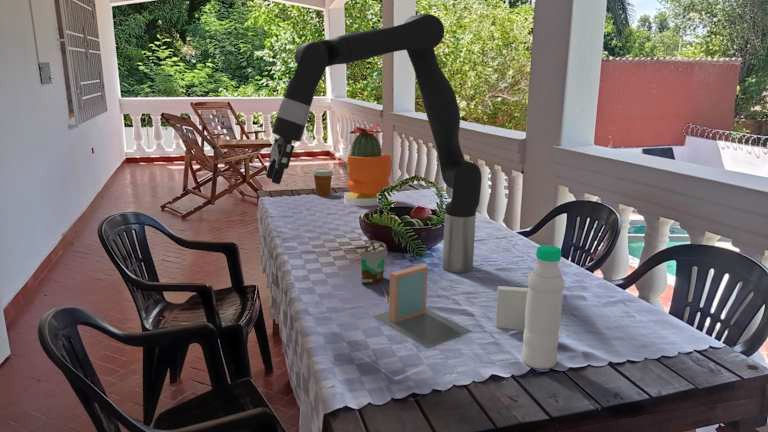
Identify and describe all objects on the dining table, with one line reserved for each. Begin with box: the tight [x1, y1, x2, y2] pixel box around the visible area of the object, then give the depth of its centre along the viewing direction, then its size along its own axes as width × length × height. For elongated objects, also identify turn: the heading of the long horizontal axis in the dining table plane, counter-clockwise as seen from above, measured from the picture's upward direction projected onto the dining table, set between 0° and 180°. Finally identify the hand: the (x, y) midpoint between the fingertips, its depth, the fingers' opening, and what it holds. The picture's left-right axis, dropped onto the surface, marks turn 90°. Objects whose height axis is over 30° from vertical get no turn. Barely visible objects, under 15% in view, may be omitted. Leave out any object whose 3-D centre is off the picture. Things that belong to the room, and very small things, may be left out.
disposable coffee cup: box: [312, 168, 334, 197], centre depth 269 cm, size 10×10×12 cm
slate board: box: [372, 307, 473, 349], centre depth 133 cm, size 20×14×1 cm
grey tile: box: [494, 285, 529, 332], centre depth 131 cm, size 2×8×10 cm, turn 83°
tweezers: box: [379, 283, 390, 304], centre depth 153 cm, size 18×5×2 cm, turn 14°
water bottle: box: [521, 244, 565, 370], centre depth 114 cm, size 7×7×25 cm
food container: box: [360, 240, 388, 286], centre depth 160 cm, size 12×6×10 cm, turn 168°
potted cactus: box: [343, 123, 393, 207], centre depth 252 cm, size 22×22×35 cm
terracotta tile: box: [388, 264, 428, 323], centre depth 135 cm, size 2×10×12 cm, turn 127°
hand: (272, 180), depth 143 cm, fingers open, 8 cm apart
